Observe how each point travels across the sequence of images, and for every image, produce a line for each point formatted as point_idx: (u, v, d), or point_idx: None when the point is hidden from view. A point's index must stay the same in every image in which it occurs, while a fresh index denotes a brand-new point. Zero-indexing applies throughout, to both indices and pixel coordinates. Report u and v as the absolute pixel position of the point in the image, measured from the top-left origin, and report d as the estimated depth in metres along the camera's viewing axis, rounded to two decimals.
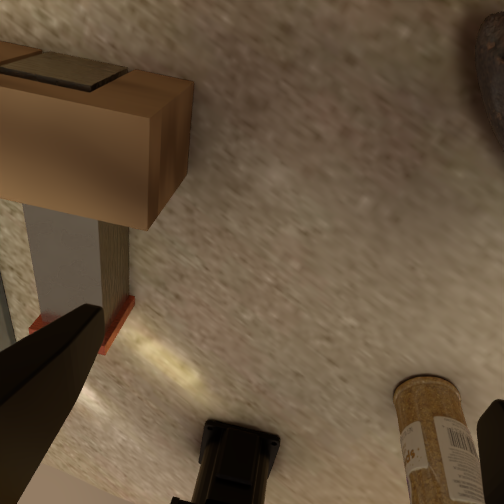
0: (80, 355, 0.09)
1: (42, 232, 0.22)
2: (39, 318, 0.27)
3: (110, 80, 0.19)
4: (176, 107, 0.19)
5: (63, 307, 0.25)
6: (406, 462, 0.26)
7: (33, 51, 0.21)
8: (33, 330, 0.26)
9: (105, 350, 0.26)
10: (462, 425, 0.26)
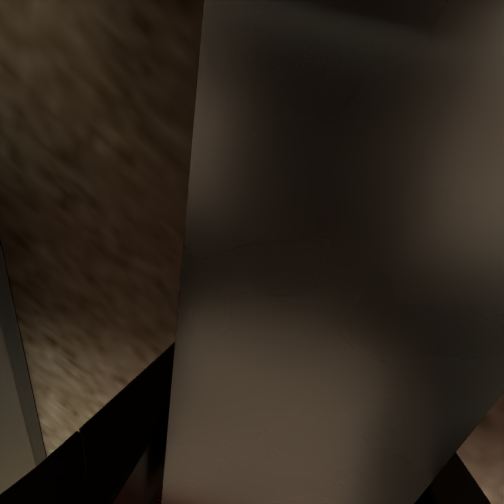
0: None
1: (260, 288, 0.05)
2: None
3: None
4: None
5: None
6: None
7: None
8: None
9: None
10: None
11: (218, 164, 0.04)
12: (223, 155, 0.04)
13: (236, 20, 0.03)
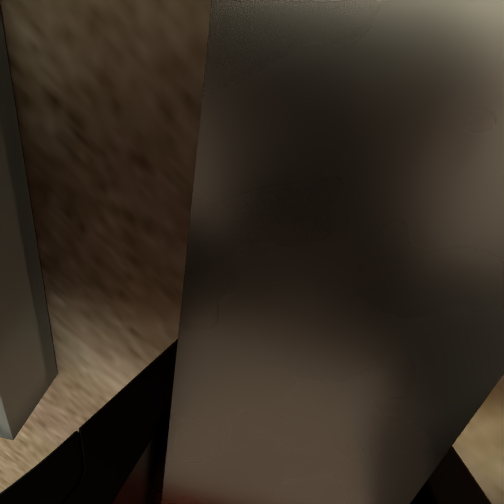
0: None
1: (270, 236, 0.05)
2: None
3: None
4: None
5: (246, 499, 0.07)
6: None
7: None
8: None
9: None
10: None
11: (231, 97, 0.04)
12: (236, 87, 0.04)
13: None
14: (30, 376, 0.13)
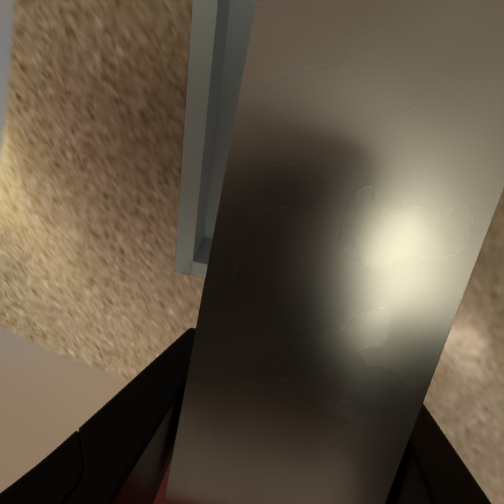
0: None
1: (279, 201, 0.06)
2: None
3: None
4: None
5: (249, 483, 0.08)
6: None
7: None
8: None
9: None
10: None
11: (256, 101, 0.06)
12: (260, 94, 0.06)
13: (274, 8, 0.06)
14: None
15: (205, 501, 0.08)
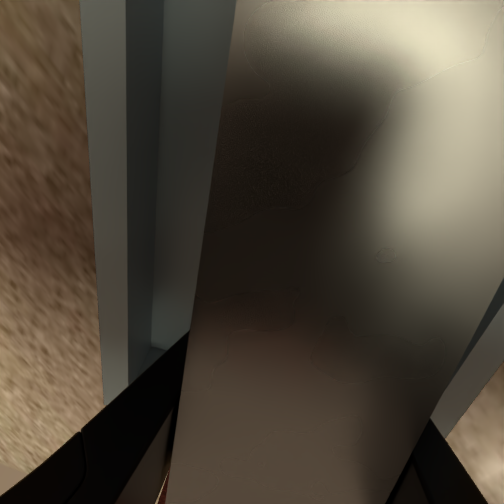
0: None
1: (250, 324, 0.06)
2: None
3: None
4: None
5: None
6: None
7: None
8: None
9: None
10: None
11: (222, 236, 0.06)
12: (226, 230, 0.06)
13: (237, 149, 0.05)
14: None
15: None
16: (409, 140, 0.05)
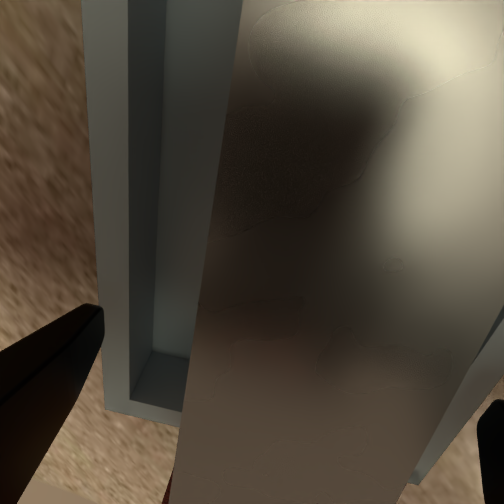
0: (80, 355, 0.09)
1: (254, 334, 0.06)
2: None
3: None
4: None
5: None
6: None
7: None
8: None
9: None
10: None
11: (226, 245, 0.06)
12: (230, 239, 0.06)
13: (241, 157, 0.05)
14: None
15: None
16: (417, 149, 0.05)
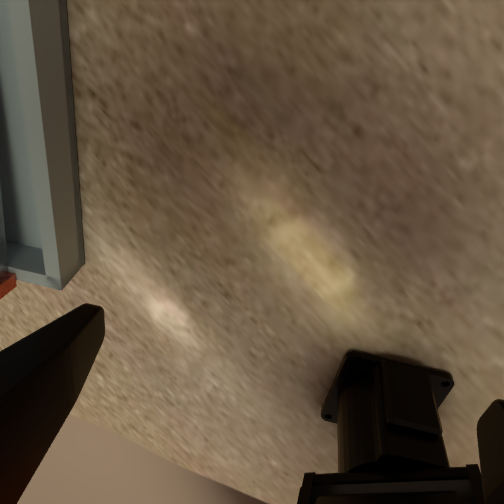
0: (80, 355, 0.09)
1: None
2: None
3: None
4: None
5: None
6: None
7: None
8: None
9: None
10: None
11: None
12: None
13: None
14: (71, 254, 0.23)
15: None
16: None
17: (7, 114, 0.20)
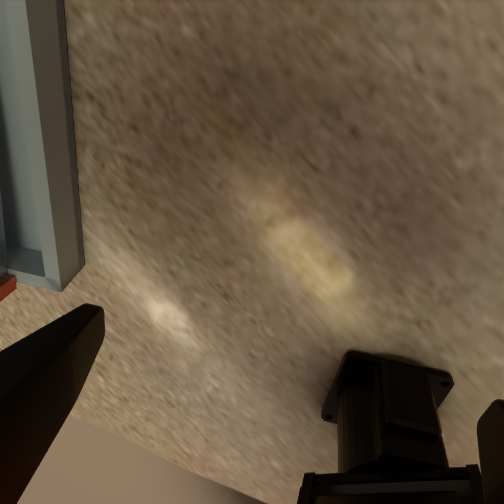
0: (80, 355, 0.09)
1: None
2: None
3: None
4: None
5: None
6: None
7: None
8: None
9: None
10: None
11: None
12: None
13: None
14: (71, 256, 0.23)
15: None
16: None
17: (6, 118, 0.20)
